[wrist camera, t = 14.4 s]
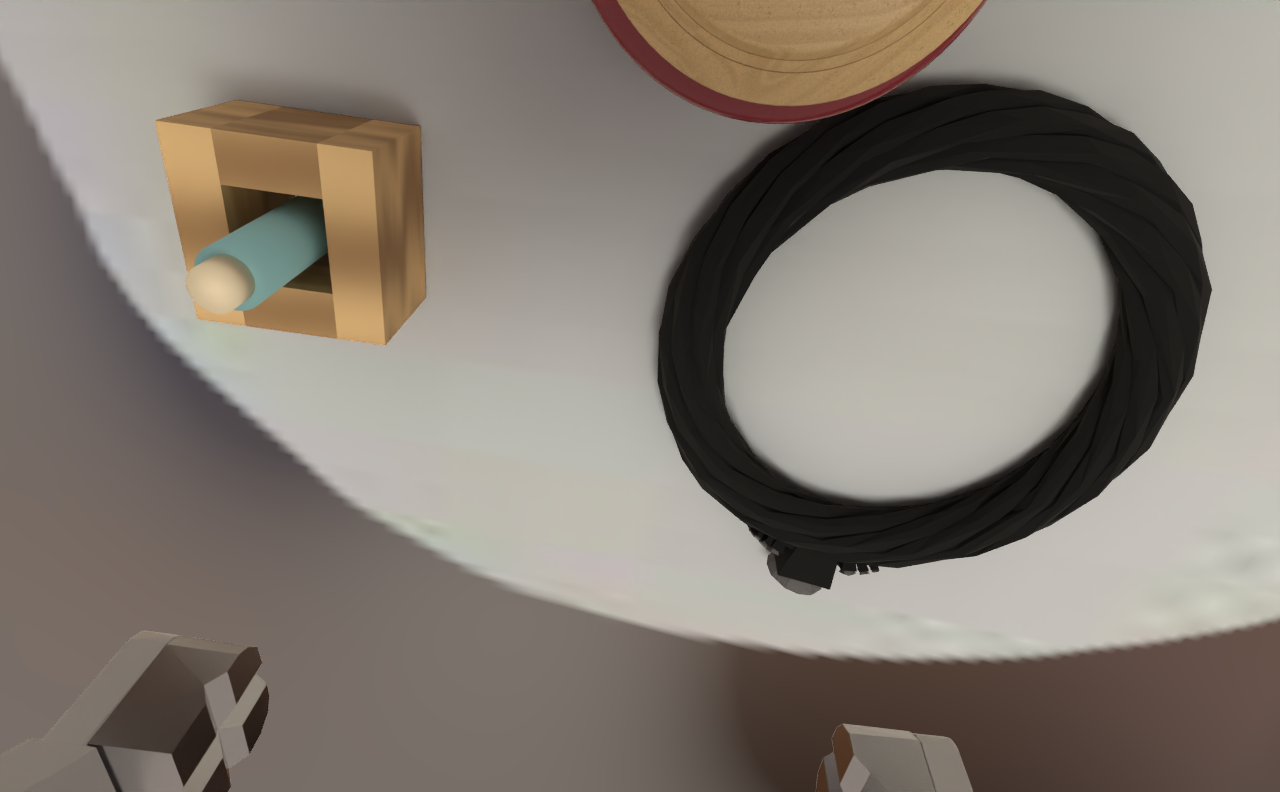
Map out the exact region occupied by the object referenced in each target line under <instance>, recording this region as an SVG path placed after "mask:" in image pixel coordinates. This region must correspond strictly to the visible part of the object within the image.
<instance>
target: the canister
mask: <svg viewBox="0 0 1280 792" xmlns="http://www.w3.org/2000/svg"><path fill="white" fill-rule="evenodd" d="M986 1H987V0H592V2H593V4H594V5H595V7H596V9H597V11H598V13H599V15H600V16H601V18H602V20H603V21H604V23H605V24H606V26H607V27H608V29H609V30H610V32H611V34H612V35H613V36H614V38H615V39H616V40H617V41H618V43H619V44H620V45H621V47H622V48H623V49H624V50H625V51H626V53H627V54H628V55H629V56H630V57H631V58H632V59H633V60H634V62H635V63H636V64H638V65H639V66H640V67H641V68H642V69H643V70H644V71H645V72H646V73H647V74H648V75H649V76H651V77H652V78H653V79H654V80H655V81H657V82H658V83H659V84H660V85H662V86H663V87H665V88H666V89H668V90H669V91H670V92H672V93H673V94H675V95H677V96H678V97H680V98H682V99H684V100H685V101H687V102H689V103H691V104H693V105H695V106H698V107H700V108H702V109H704V110H707V111H710V112H712V113H715V114H718V115H721V116H725V117H728V118H732V119H737V120H742V121H747V122H756V123H765V124H786V123H800V122H807V121H813V120H818V119H823V118H827V117H831V116H835V115H838V114H841V113H844V112H847V111H850V110H853V109H855V108H858V107H860V106H863V105H865V104H867V103H869V102H871V101H873V100H875V99H877V98H879V97H881V96H883V95H885V94H887V93H888V92H890V91H892V90H894V89H895V88H897V87H898V86H900V85H901V84H903V83H904V82H906V81H907V80H909V79H910V78H912V77H913V76H914V75H916V74H917V73H918V72H920V71H921V70H922V69H924V68H925V67H926V66H927V65H929V64H930V63H931V62H932V61H933V60H934V59H935V58H936V57H938V56H939V55H940V54H941V53H942V52H943V51H944V50H945V49H946V48H947V47H948V46H949V45H950V44H951V43H952V42H953V41H954V40H955V39H956V38H957V37H958V36H959V35H960V34H961V32H962V31H963V30H964V29H965V28H966V27H967V26H968V24H969V23H970V22H971V21H972V20H973V18H974V17H975V16H976V14H977V13H978V12H979V10H980V9H981V8H982V7H983V5H984V4H985V2H986Z"/></svg>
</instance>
